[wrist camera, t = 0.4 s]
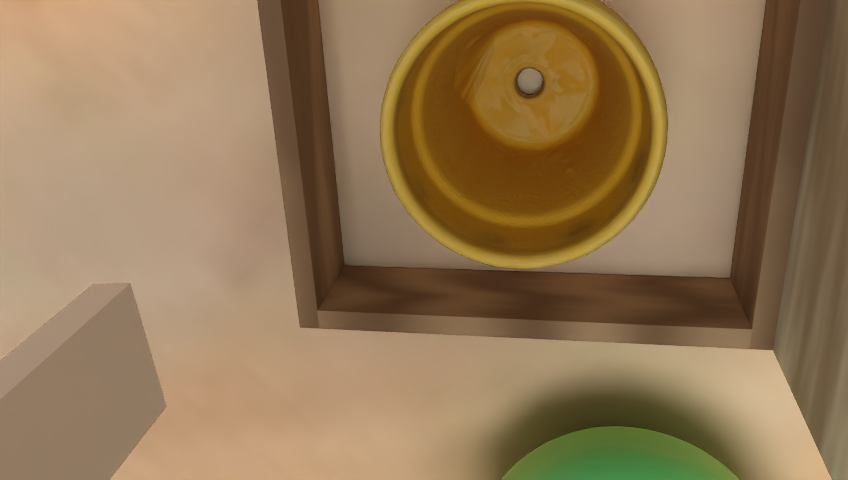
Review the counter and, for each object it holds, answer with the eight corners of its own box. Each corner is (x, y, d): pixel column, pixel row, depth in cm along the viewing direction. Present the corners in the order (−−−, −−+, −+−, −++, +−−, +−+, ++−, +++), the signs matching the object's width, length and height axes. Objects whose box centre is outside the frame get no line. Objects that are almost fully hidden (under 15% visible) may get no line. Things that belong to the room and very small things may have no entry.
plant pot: (380, 49, 36) (321, 98, 28) (569, -86, 33) (570, -79, 24) (498, 220, 39) (478, 315, 30) (686, 114, 35) (725, 186, 26)
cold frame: (328, 281, 42) (151, 568, 24) (279, -168, 33) (-61, -243, 15) (769, 297, 38) (951, 655, 20) (848, -208, 29) (1299, -374, 11)
